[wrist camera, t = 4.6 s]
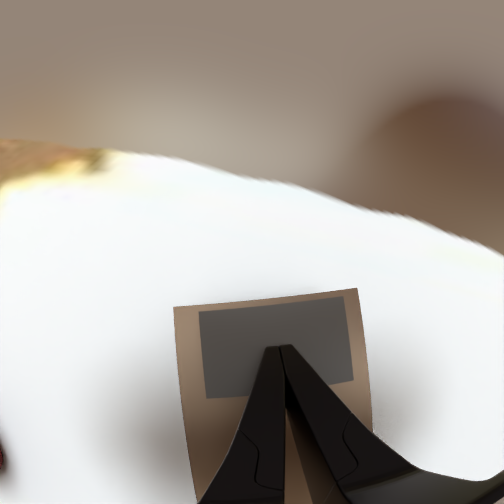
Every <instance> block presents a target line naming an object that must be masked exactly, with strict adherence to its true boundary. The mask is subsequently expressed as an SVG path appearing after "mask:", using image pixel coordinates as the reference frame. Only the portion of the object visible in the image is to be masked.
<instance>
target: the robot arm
mask: <svg viewBox="0 0 504 504" xmlns="http://www.w3.org/2000/svg"><path fill="white" fill-rule="evenodd" d="M286 412H287V416H288V420H289V423H290V427H291V430H292V434H293V437H294V441H295V444H296V448H297V451H298V455H299V458H300V462H301V465H302V469H303V472H304V475H305V479H306V482H307V486H308V489H309V493H310V496H311V499H312V503H313V504H504V470H503V471H501V472H500V473H498V474H497V475H495V476H494V477H492V478H490V479H488V480H484V481H470V480H464V479H459V478H454V477H450V476H445V475H441V474H436V473H432V472H428V471H425V470H422V469H420V468H418V467H416V466H414V465H412V464H411V463H410V462H408V461H407V460H406V459H404V458H403V457H402V456H400V455H399V454H398V453H397V452H395V451H394V450H393V449H392V448H390V447H389V446H388V445H387V444H385V443H384V442H383V441H382V440H381V439H379V438H378V437H377V436H376V435H375V434H374V433H372V432H371V431H370V430H369V429H368V428H367V427H366V426H365V425H364V424H363V423H362V422H361V421H360V420H359V419H358V417H357V416H356V415H355V414H354V413H352V411H351V410H350V409H349V408H348V407H347V406H346V404H345V403H344V402H343V401H342V400H341V399H340V398H339V397H338V396H337V395H336V393H335V392H334V391H333V390H332V389H331V388H330V387H329V386H328V384H327V383H326V382H325V381H324V380H323V379H322V378H321V377H320V375H319V374H318V373H317V372H316V371H315V370H314V369H313V368H312V366H311V365H310V364H309V363H308V362H307V361H306V360H305V359H304V357H303V356H302V355H301V354H300V353H299V352H298V351H297V349H296V348H295V347H294V346H293V345H292V344H286V345H280V346H279V347H278V346H269V347H266V348H265V350H264V353H263V356H262V359H261V362H260V365H259V368H258V371H257V374H256V377H255V380H254V383H253V386H252V389H251V391H250V394H249V397H248V400H247V403H246V406H245V408H244V411H243V414H242V417H241V419H240V422H239V425H238V428H237V429H238V430H236V433H235V435H234V438H233V441H232V443H231V445H230V448H229V450H228V452H227V454H226V456H225V458H224V460H223V462H222V464H221V466H220V468H219V469H218V471H217V473H216V474H215V476H214V478H213V479H212V481H211V483H210V484H209V486H208V488H207V489H206V491H205V493H204V494H203V496H202V497H201V499H200V500H199V502H198V503H197V504H284V503H285V438H286Z"/></svg>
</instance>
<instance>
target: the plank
mask: <svg viewBox="0 0 504 504" xmlns="http://www.w3.org/2000/svg"><path fill="white" fill-rule="evenodd" d="M173 309H174V326H175V340H176V353H177V364H178V375H179V385H180V394H181V403H182V411H183V419H184V426H185V433H186V440H187V447H188V453H189V460H190V466H191V472H192V477H193V483H194V488H195V493H196V498H197V503H198V502H199V500H200V499H201V497H202V496H203V494H204V493H205V491H206V489H207V488H208V486H209V484H210V483H211V481H212V479H213V478H214V476H215V474H216V473H217V471H218V469H219V468H220V466H221V464H222V462H223V460H224V458H225V456H226V454H227V452H228V450H229V448H230V445H231V443H232V441H233V438H234V435H235V433H236V430H238V429H237V428H238V425H239V422H240V419H241V417H242V414H243V411H244V408H245V406H246V403H247V400H248V397H249V394H250V391H251V389H252V386H253V383H254V380H255V377H256V374H257V371H258V368H259V365H260V362H261V359H262V356H263V353H264V350H265V348H266V347H269V346H278V347H279V346H280V345H286V344H292V345H293V346H294V347H295V348H296V349H297V351H298V352H299V353H300V354H301V355H302V356H303V357H304V359H305V360H306V361H307V362H308V363H309V364H310V365H311V366H312V368H313V369H314V370H315V371H316V372H317V373H318V374H319V375H320V377H321V378H322V379H323V380H324V381H325V382H326V383H327V384H328V386H329V387H330V388H331V389H332V390H333V391H334V392H335V393H336V395H337V396H338V397H339V398H340V399H341V400H342V401H343V402H344V403H345V404H346V406H347V407H348V408H349V409H350V410H351V411H352V413H354V414H355V415H356V416H357V417H358V419H359V420H360V421H361V422H362V423H363V424H364V425H365V426H366V427H367V428H368V429H369V430H370V431H371V432H372V433H373V429H372V411H371V397H370V384H369V374H368V364H367V354H366V346H365V338H364V330H363V323H362V316H361V309H360V302H359V296H358V290H357V288H352V289H345V290H337V291H330V292H322V293H314V294H306V295H297V296H288V297H279V298H270V299H260V300H250V301H240V302H229V303H218V304H206V305H193V306H180V307H173ZM284 504H313V503H312V499H311V496H310V493H309V489H308V486H307V482H306V479H305V475H304V472H303V469H302V465H301V462H300V458H299V455H298V451H297V448H296V444H295V441H294V437H293V434H292V430H291V427H290V423H289V420H288V416H287V412H286V438H285V503H284Z"/></svg>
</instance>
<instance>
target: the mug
mask: <svg viewBox="0 0 504 504" xmlns="http://www.w3.org/2000/svg"><path fill="white" fill-rule="evenodd" d="M2 463H3V457H2V452H1V449H0V468H1V466H2Z"/></svg>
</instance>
